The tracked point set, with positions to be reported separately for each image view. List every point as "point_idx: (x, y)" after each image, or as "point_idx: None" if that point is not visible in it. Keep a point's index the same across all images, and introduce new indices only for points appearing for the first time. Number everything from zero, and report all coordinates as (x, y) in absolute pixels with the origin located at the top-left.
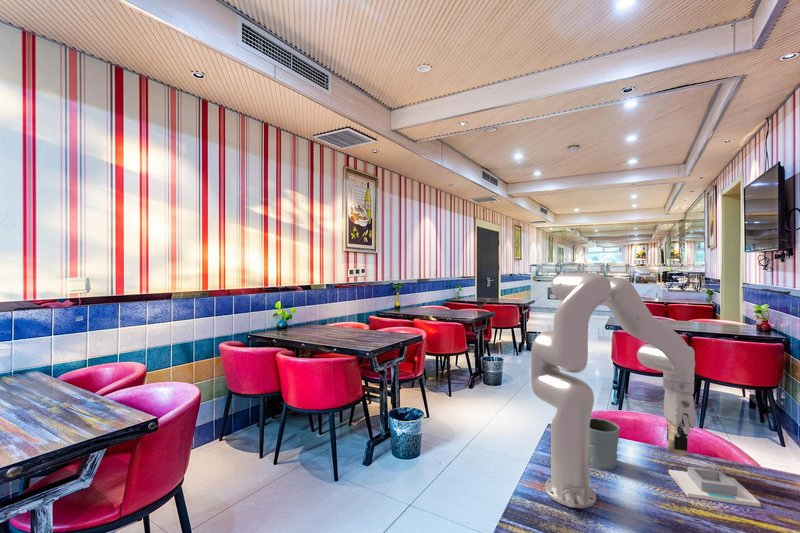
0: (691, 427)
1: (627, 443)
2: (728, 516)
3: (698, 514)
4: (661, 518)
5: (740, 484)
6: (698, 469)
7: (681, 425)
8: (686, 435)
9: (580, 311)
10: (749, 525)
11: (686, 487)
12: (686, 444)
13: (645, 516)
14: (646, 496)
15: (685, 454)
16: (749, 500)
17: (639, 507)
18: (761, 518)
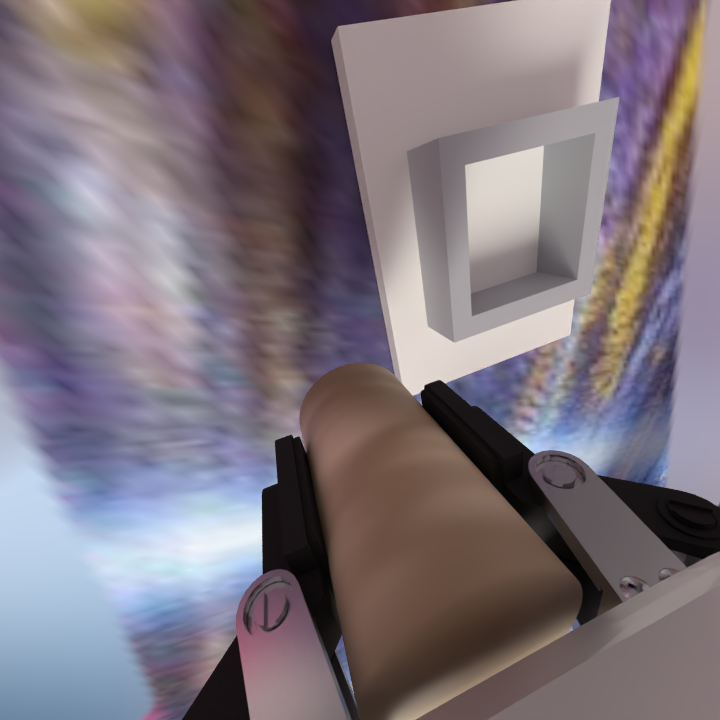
0: (714, 554)
1: (150, 569)
2: (647, 211)
3: (637, 306)
4: (650, 390)
5: (428, 15)
6: (469, 289)
7: (447, 637)
8: (637, 490)
9: None
10: (690, 147)
11: (534, 336)
12: (468, 410)
13: (644, 419)
14: (570, 430)
15: (377, 366)
16: (594, 55)
17: (615, 434)
18: (660, 61)
